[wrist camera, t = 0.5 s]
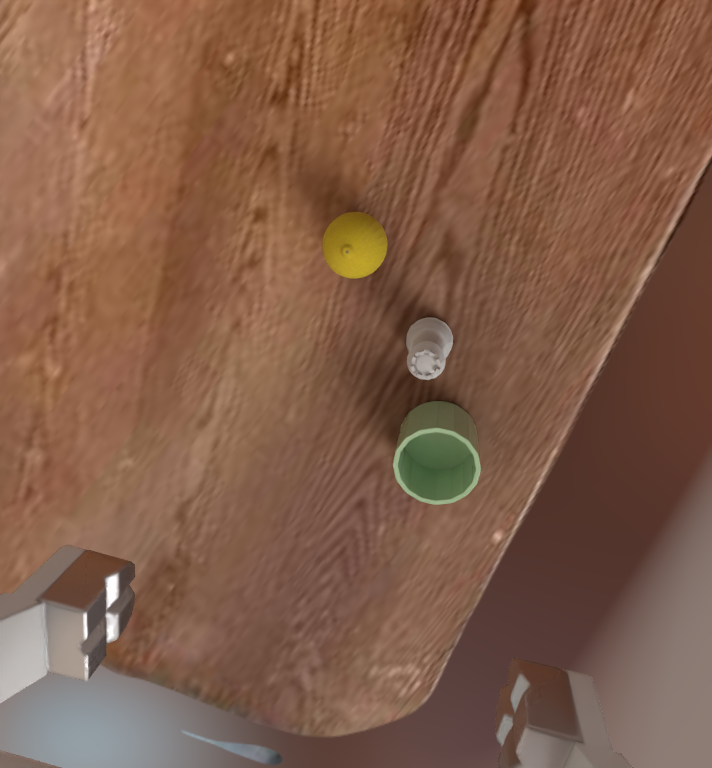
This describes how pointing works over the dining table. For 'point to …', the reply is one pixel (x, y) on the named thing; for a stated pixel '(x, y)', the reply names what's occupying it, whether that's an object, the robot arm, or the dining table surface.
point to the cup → (437, 453)
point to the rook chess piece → (428, 347)
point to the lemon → (354, 245)
